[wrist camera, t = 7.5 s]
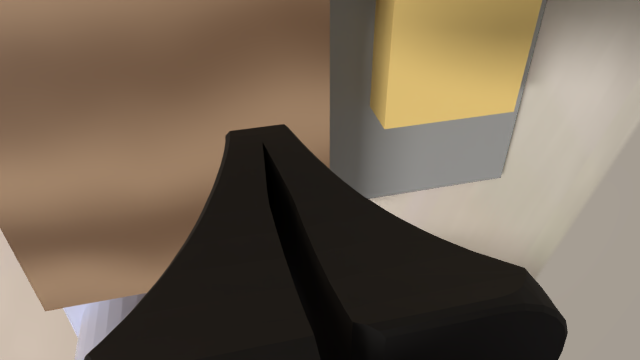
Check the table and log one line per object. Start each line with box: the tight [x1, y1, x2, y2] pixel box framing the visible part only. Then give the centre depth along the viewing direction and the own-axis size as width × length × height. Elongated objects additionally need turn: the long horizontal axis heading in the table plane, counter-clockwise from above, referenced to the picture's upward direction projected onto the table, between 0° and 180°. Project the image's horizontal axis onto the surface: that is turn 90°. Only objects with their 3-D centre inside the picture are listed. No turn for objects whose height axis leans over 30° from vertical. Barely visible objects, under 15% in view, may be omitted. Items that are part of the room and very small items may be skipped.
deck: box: [0, 0, 330, 311], centre depth 17 cm, size 20×12×4 cm, turn 0°
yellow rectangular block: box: [370, 0, 542, 129], centre depth 20 cm, size 9×6×2 cm, turn 0°
